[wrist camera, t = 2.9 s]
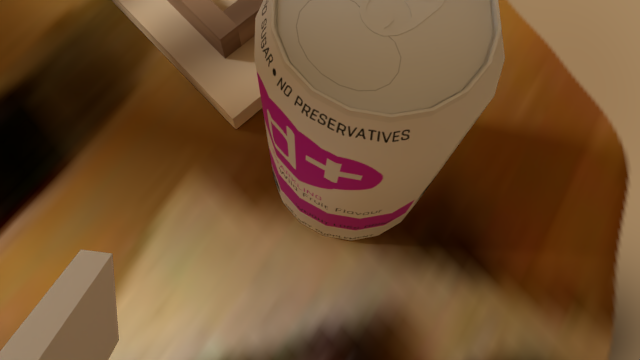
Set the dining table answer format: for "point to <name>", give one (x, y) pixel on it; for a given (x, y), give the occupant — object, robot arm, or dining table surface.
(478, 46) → the supplement can
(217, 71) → the oak stand
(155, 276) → the dining table surface
